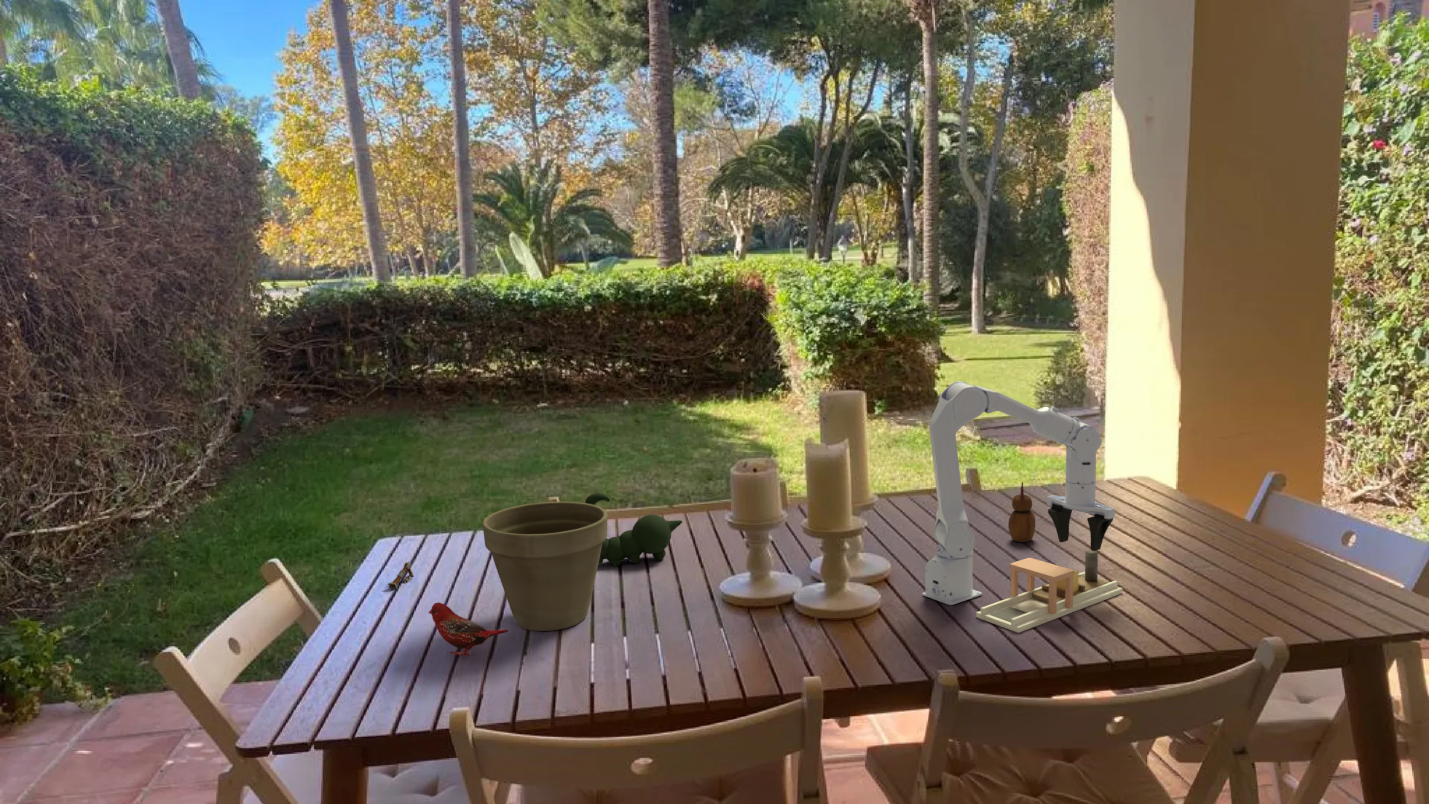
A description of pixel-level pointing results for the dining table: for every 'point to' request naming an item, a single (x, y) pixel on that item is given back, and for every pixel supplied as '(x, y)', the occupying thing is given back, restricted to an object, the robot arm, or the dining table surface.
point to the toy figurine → (636, 537)
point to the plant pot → (547, 560)
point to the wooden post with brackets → (401, 574)
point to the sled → (1084, 581)
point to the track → (1033, 612)
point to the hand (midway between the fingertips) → (1079, 545)
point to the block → (1075, 582)
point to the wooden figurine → (1022, 518)
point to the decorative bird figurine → (459, 629)
